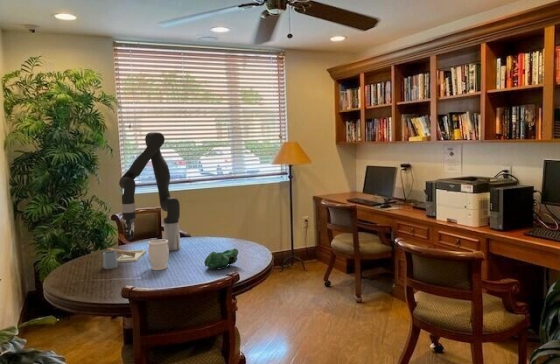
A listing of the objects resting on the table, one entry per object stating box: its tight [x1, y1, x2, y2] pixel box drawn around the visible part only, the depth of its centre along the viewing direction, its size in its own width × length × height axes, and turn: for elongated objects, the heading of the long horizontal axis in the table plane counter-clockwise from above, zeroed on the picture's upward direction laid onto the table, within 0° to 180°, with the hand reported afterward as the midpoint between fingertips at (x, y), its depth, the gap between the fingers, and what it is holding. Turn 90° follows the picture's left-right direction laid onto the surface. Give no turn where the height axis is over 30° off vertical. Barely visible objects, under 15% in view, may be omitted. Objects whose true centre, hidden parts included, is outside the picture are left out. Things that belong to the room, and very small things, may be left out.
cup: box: [102, 250, 118, 270], centre depth 234 cm, size 7×7×9 cm
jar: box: [147, 238, 170, 271], centre depth 232 cm, size 11×10×15 cm
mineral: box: [204, 247, 239, 270], centre depth 231 cm, size 18×16×10 cm
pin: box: [106, 247, 136, 257], centre depth 254 cm, size 6×2×16 cm
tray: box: [117, 249, 147, 263], centre depth 255 cm, size 12×22×2 cm, turn 5°
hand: (130, 239), depth 254 cm, fingers open, 6 cm apart
